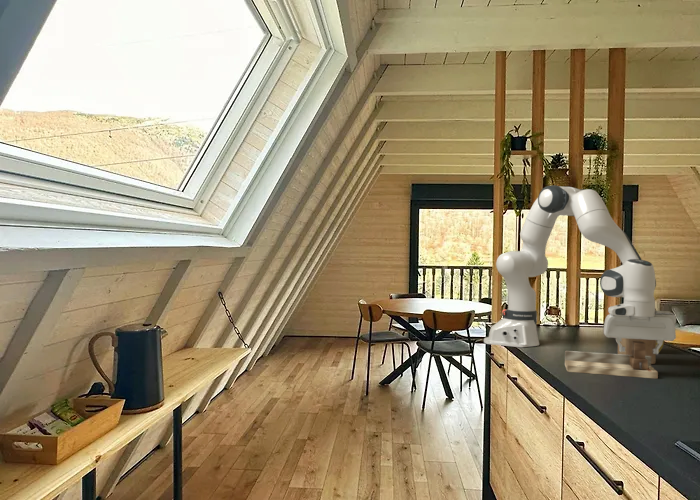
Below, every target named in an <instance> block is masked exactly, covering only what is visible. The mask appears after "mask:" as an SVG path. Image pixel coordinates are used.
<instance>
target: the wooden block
mask: <svg viewBox="0 0 700 500" xmlns="http://www.w3.org/2000/svg"><path fill="white" fill-rule="evenodd" d="M655 311H657V309H656V307H655ZM632 341H640V342H644V343H645V356H651V365H654V364H656V361H657V360H656V358H657V357H656V355H657V354H652V351H653V350H652V348H655V347H656V340H646V339H628V338H622V340H621V341H619V342H620V343H621V345H622V346H625V352H620V351H619V345H618V344H617V354H624V355H632Z"/></svg>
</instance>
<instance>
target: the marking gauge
mask: <svg viewBox="0 0 700 500" xmlns="http://www.w3.org/2000/svg"><path fill="white" fill-rule="evenodd" d="M630 366H631V367H632V368H633V369H643V370H648V360H647V359H646V358H645V343H644V342H640V341H632V356H630Z"/></svg>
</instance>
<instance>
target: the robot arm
mask: <svg viewBox="0 0 700 500" xmlns="http://www.w3.org/2000/svg"><path fill="white" fill-rule="evenodd" d="M559 216H569V217H574V218H575V222H576V223H577V226H578V230H579V231H580V233H581V235H582V236H583V237H584V238H585V239H586V240H588V241H591V242H592V243H595V244H599V245H602V246H604V247H607V248H608V249H610V250H612V251H613V252H615V253H616V255H617V257H618V258H619V260H620V262H621V263H622V264H621V265H620V266H616V267H615V268H614V267H613V268H610V269H607V270H605V271H604V272H603V273H602V274H601V276H600V279H599V280H600V281H599V286H600V289H601V292H603V294H604V295H606V296H607V297H610V298H623V303H620V304H616V305H611V306H609V307H608V308H607V311H608V313H609V314H607V315H606V317H605V319H604V324H603V334H604V336H605V337H606V338H613V339H615V341H616V344H617V346H618V345H619V351H620V352H625V346H622V345H621V343H620V342H619V341H621V340H622V338H628V339H646V340H656V343H658V344H657V345H656V347H655V348H652V350H653V351H652V354H656V355H659V353H660V352H659V348H660V347H661V346H662V344H663V341H664V342H665V341H667V342H668V341H669V342H673V341H675V339H676V338H677V335H676V333H677V332H676V327H675V325H676V323H677V316H676V314H675V313H673V312H671V311H669V310H666V311H665V310H664V311H663V310H656V311H655V308H656V299H655V295H654V294H655V290H656V287H657V278H656V273H655V272H656V271H655V268H654V267H655V266H654V265H653V263H651V261H649V260H644V259H642V258H641V256H640V254H639V252H638V251H637V249H636V248H635V245H634V244H633V243H632V240H630V238H629V236H628V235H627V233H626V232H625V231H624V230H623V229H621V228H620V226H618V224H616V222H615V220H614V219H613V217H612V216H611V214H610V212H609V209H608V208H607V206H606V204H605V201H603V198H602V197H601V196H600V195H599V193H598V192H597V191H596V190H594V189H591V188H589V189H581V188H576V187H572V186H561V185H560V186H559V185H556V184H555V185H547V186H545V187H543V188H542V189H541V190H540V192H539V194H538V196H537V198H536V199H535V201H533V204H532V206H531V207H530V210H529V211H528V213H527V216H526V218H525V220H524V222H523V226H522V228H521V230H520V233H519V235H520V239H521V240H522V248H521V250H511V251H506V252H504V253H501V254H500V255H499V256H498V257H497V259H496V262H495V267H496V270H497V272H498V273H499V274H500V275H501V276H502V278H503V279H504V282H505V285H506V289H507V303H508V305H507V307H508V308H507V309H506V308H505V309H503V310H502V311H501V313H502V317H503V318H502V319H500V320H498V321H497V322H496V323H495V324H493V325H492V326H491V327H490V329H489V333H488V336H486V337H484V338H483V343H484V344H486V345H494V346H502V347H503V346H506V347H515V348H527V347H536V346H537V347H538V346H539V345H540V341H539V336H538V331H537V330H538V329H537V323H538V312H537V308H536V307H537V294H536V290H535V289H534V288H533V287H532V286H531V283H530V281H529V278H533V277H538V276H540V275H542V274H544V273H546V271H547V270H548V267H549V262H548V259H547V256H546V249H547V243H548V242H549V238H550V235H551V234H552V231H553V229H554V227H555V224H556V222H557V219H558V218H559Z"/></svg>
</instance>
